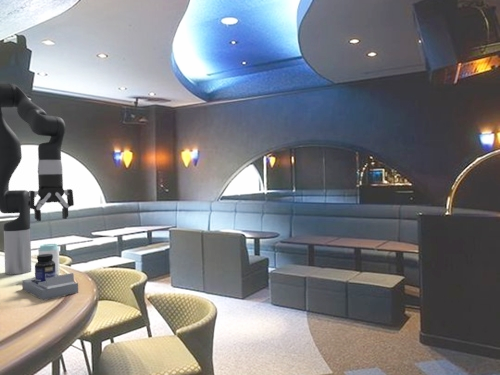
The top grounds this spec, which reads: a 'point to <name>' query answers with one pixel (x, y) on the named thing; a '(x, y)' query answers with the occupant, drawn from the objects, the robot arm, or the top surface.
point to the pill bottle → (44, 267)
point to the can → (51, 250)
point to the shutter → (57, 281)
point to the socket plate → (48, 293)
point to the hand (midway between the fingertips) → (52, 219)
